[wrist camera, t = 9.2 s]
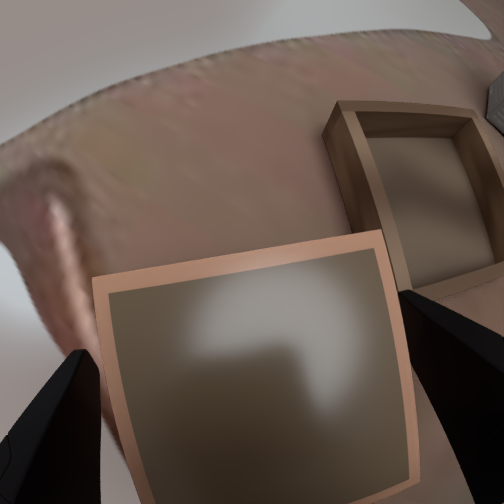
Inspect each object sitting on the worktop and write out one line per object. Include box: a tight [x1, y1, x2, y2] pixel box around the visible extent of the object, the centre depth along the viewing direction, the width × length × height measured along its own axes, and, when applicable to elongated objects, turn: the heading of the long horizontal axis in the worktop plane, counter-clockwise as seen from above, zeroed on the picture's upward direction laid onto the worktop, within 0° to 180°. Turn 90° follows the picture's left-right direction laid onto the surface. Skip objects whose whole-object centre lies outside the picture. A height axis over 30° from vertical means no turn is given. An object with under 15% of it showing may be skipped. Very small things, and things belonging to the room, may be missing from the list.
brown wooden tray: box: [322, 101, 504, 301], centre depth 17 cm, size 12×12×4 cm
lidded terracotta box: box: [92, 229, 420, 504], centre depth 10 cm, size 6×6×10 cm
